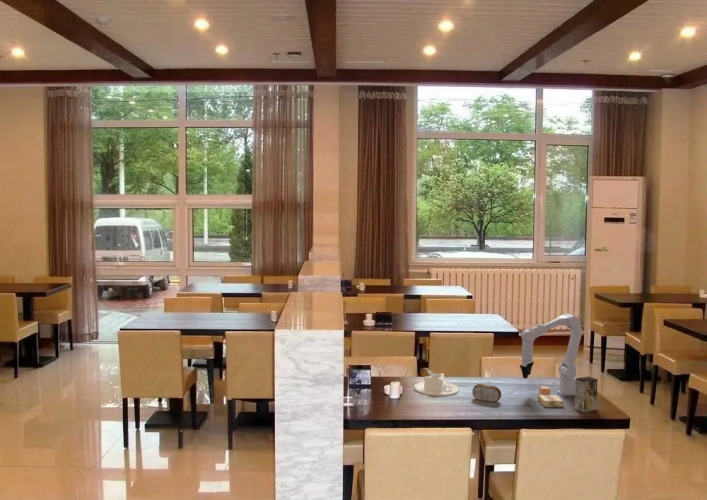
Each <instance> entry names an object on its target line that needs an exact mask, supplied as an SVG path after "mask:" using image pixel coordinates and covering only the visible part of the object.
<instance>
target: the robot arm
mask: <svg viewBox="0 0 707 500" xmlns="http://www.w3.org/2000/svg"><path fill="white" fill-rule="evenodd" d="M559 326H563V327H564V326H565V327H567V328H568V329H569V331H570V332H571V333H570V336H569V341H568V345H567V349H566V353H565V357H564V359H563V360H562V361H561V364H560V365H559V367H558V373H559V374H560V378H559V389H558V390H556V391H557V393H559V394H560V396H562V397H563V396H564V397H565V396H566V397H567V396H569V397H570V396H574V397H575V388H576V378H577V364H576V359H577V355H578V351H579V347H580V343H581V339H582V335H583V329H582V327H583V326H582V321H581V320H580V318H579V317H578V316H576V315H573V314H571V313H569V312H567V313H563V314H561V315H559V316H558V317H556V318H554V319H552V320H551V321H548V322H547V323H545V324H542V323H537V324H536V325H535V326H533V327H529V328H528V329H524V330H522V332H521V333H520V337H521V340H522V342H521V343H522V344H521V358H519V361H520V362H522V364H520V365H519V368H520V370H521V375H522V378H523V379H528V377H529V376H530V375H531V373H532V368H533V365H534V363H535V362H534V360H533V359H534V357H533V356H534V341H535V340H536V338H539V337H540V336H543V335H545V334H547V331H549V330H551V329H554V328H556V327H559Z"/></svg>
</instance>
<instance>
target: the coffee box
mask: <svg viewBox="0 0 707 500" xmlns="http://www.w3.org/2000/svg"><path fill="white" fill-rule="evenodd" d="M575 378H576V388H575V396H574V409H575V410H577V411H578V412H579V411H580V412H582V413H586V412H591V411H596V410H597V403H598V380H599V379H598V378H594V377H591V376H583V377H582V376H581V377H578V378H577V377H575Z"/></svg>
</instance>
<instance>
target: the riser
mask: <svg viewBox="0 0 707 500" xmlns="http://www.w3.org/2000/svg"><path fill="white" fill-rule="evenodd" d="M537 401H538V402H539V403H540V404H541V405H542V406H543V407H545V408H546V407H547V408H549V407H550V408H552V407H553V408H554V407H555V408H557V407H558V408H559V407H562V408H563V407H564V400H563V399H562V398H561V397H560V396H558V395H557V394H550V395H539V394H538V395H537Z"/></svg>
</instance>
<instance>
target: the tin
mask: <svg viewBox="0 0 707 500" xmlns="http://www.w3.org/2000/svg"><path fill="white" fill-rule="evenodd" d="M472 397H474V398H475V400H478V401H482V402H489V403H496V402H498V401H499V400H500V399H501V398H502V392H501V389H500V388H498V387H497V386H495V385H489V384H483V383H478V384H475V386H474V387H473V388H472Z"/></svg>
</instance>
